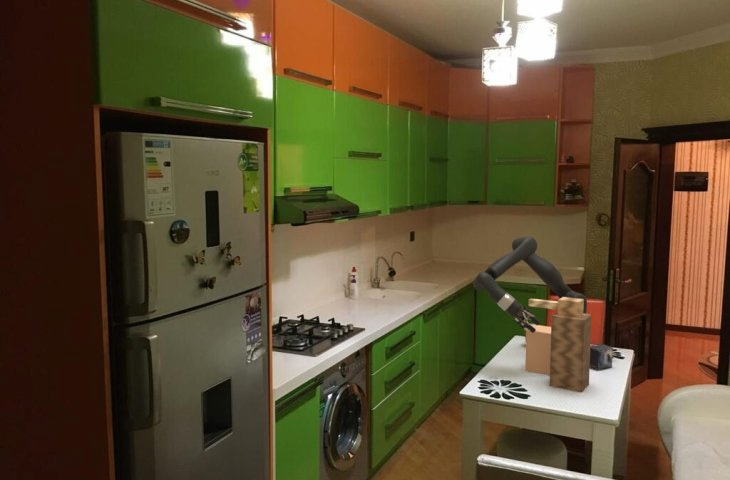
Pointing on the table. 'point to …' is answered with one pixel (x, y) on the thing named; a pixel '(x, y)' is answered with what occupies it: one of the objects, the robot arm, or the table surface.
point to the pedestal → (538, 350)
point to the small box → (601, 357)
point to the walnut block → (570, 352)
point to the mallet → (561, 306)
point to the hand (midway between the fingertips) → (536, 327)
